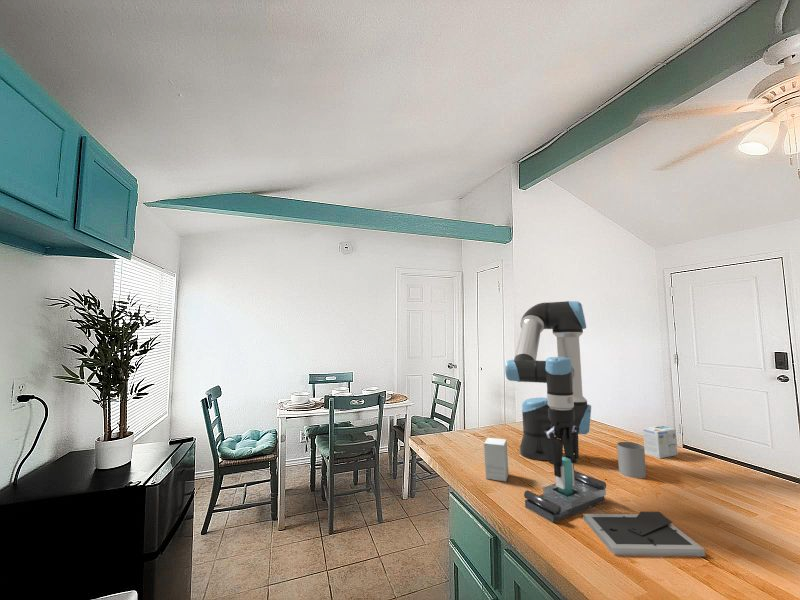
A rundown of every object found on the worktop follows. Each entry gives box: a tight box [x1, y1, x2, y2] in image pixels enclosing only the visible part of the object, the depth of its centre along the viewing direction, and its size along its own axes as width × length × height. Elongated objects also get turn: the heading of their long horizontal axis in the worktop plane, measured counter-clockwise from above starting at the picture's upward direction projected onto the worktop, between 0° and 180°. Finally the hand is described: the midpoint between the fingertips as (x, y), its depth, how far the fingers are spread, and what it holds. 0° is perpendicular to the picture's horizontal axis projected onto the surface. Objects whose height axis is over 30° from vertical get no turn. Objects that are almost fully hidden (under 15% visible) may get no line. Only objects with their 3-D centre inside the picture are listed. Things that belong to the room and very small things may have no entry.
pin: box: [558, 456, 573, 496], centre depth 108 cm, size 4×4×10 cm
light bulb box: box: [642, 425, 678, 459], centre depth 148 cm, size 11×7×11 cm, turn 108°
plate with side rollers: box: [523, 469, 607, 524], centre depth 108 cm, size 11×24×6 cm, turn 118°
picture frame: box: [582, 511, 706, 557], centre depth 91 cm, size 16×3×21 cm
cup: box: [616, 441, 647, 479], centre depth 130 cm, size 8×8×10 cm
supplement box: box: [483, 437, 509, 482], centre depth 130 cm, size 7×7×13 cm
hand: (565, 485), depth 108 cm, fingers closed on pin, 4 cm apart
